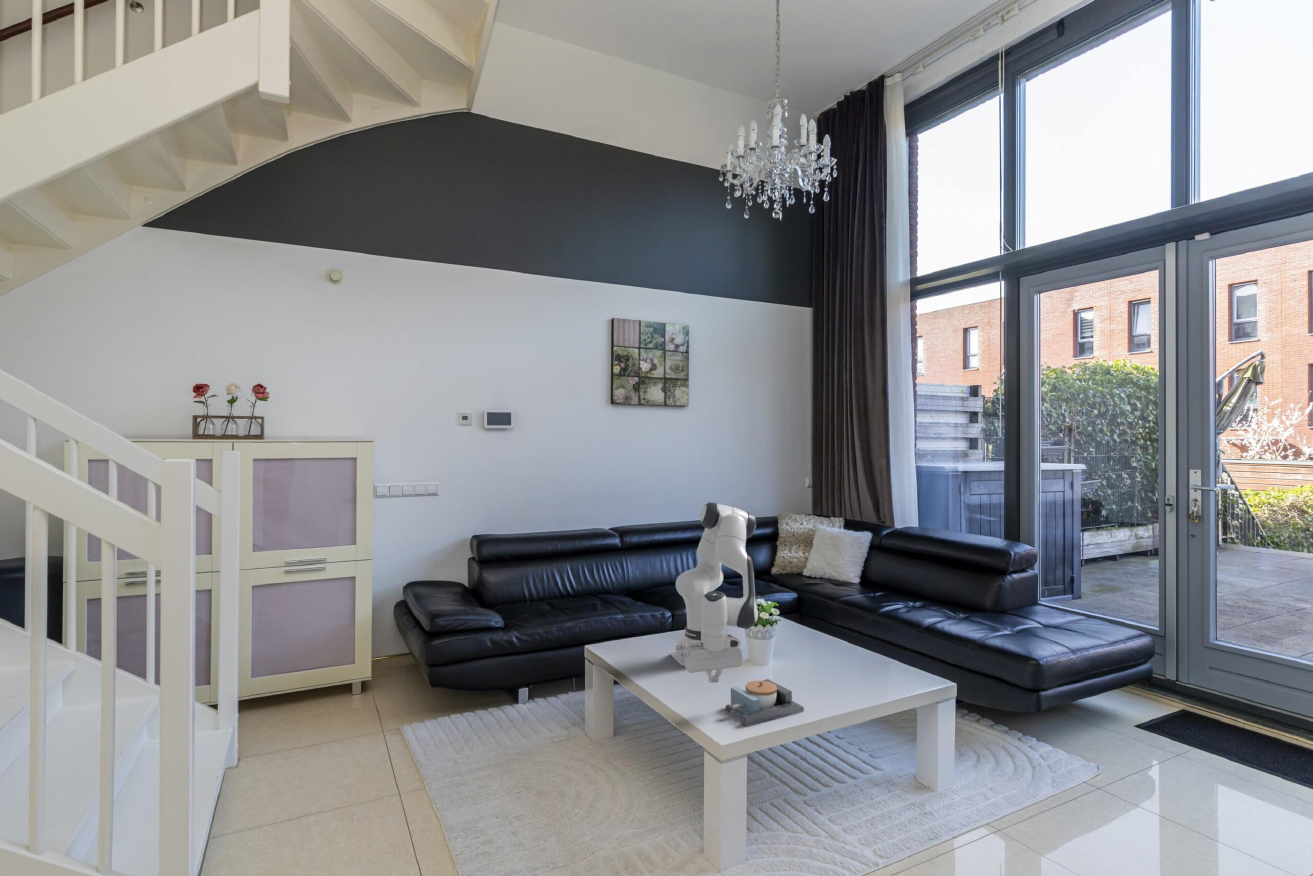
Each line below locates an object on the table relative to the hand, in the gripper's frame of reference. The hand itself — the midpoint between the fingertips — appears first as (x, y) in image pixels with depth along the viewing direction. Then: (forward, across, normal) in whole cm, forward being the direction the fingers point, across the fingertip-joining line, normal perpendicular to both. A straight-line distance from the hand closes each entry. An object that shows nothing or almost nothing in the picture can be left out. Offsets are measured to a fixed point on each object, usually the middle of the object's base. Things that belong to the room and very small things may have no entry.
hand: (713, 682), depth 221 cm
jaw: (+10, +6, -4) cm, 13 cm away
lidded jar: (+10, +16, -3) cm, 20 cm away
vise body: (+10, +16, -4) cm, 19 cm away
